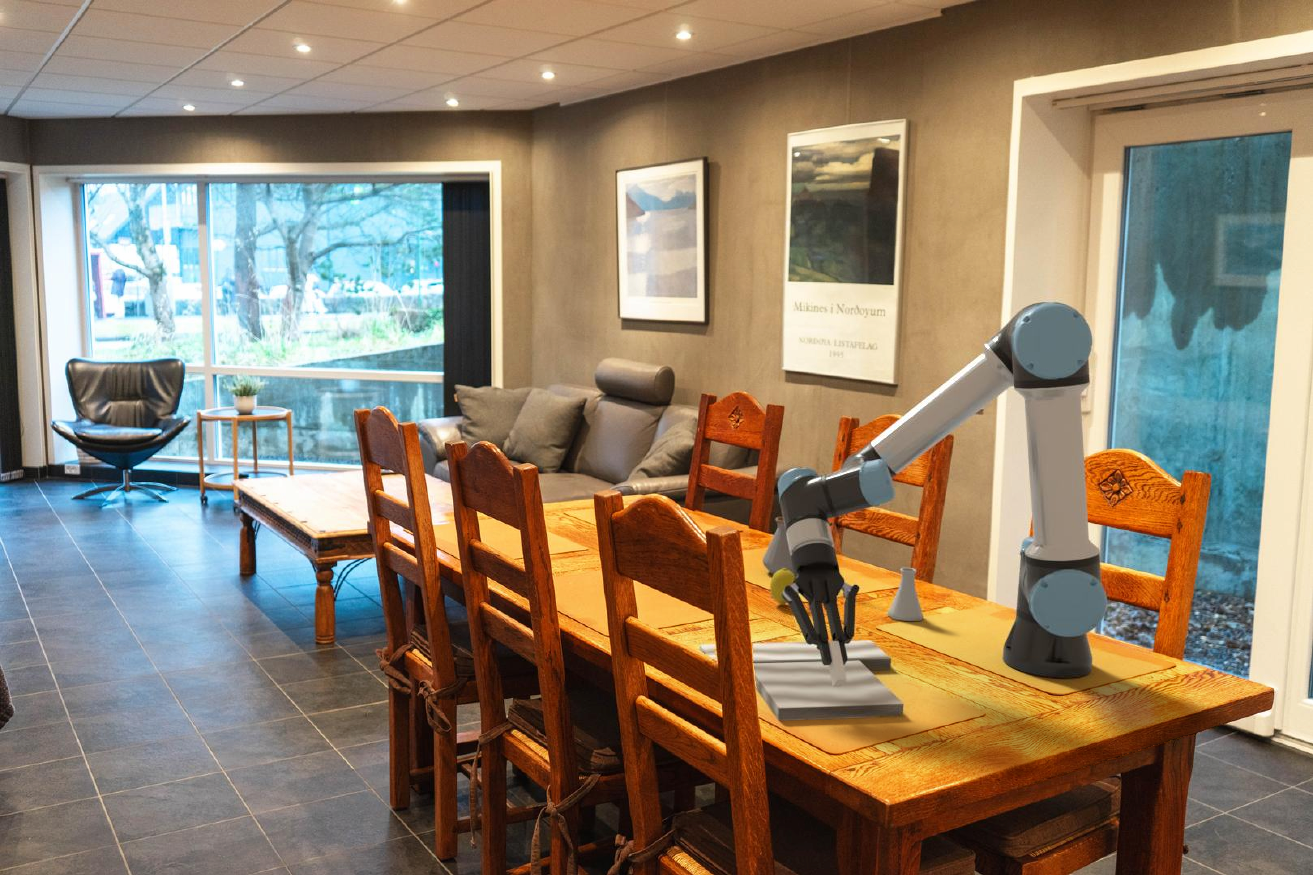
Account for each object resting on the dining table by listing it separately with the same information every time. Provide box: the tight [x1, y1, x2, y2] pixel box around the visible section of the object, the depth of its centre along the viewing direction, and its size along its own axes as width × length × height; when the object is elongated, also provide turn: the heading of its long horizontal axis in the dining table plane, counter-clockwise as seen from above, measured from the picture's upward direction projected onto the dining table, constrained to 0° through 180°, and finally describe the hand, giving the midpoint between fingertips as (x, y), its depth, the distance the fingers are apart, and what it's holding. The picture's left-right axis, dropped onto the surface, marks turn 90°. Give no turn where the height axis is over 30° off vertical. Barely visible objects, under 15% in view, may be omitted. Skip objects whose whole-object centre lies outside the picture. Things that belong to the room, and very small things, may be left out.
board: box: [699, 639, 892, 671], centre depth 195 cm, size 10×32×2 cm, turn 99°
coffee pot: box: [762, 516, 837, 576], centre depth 252 cm, size 21×12×15 cm, turn 30°
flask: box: [886, 567, 924, 622], centre depth 224 cm, size 7×7×10 cm
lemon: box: [769, 568, 795, 606], centre depth 230 cm, size 6×6×8 cm
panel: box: [754, 660, 904, 721], centre depth 180 cm, size 20×20×2 cm
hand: (839, 682), depth 171 cm, fingers closed
